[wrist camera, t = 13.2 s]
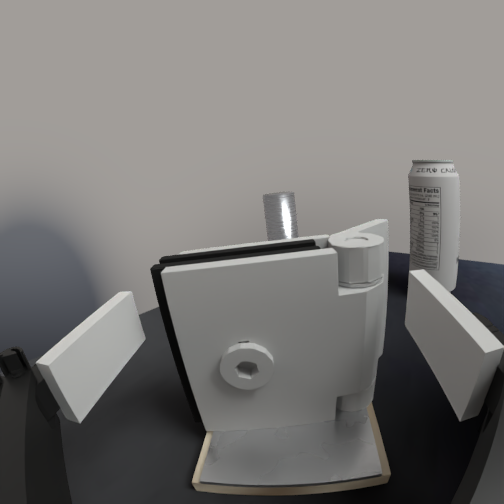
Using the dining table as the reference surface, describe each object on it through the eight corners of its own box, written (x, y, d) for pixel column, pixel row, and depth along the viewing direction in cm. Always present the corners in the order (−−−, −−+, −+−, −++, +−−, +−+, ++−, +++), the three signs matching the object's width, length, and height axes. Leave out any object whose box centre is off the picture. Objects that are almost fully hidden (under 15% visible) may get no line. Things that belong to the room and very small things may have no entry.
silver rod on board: (339, 321, 26) (333, 187, 23) (381, 476, 10) (427, 230, 7) (242, 328, 27) (223, 198, 24) (200, 483, 12) (116, 259, 8)
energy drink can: (463, 295, 27) (468, 160, 24) (424, 306, 28) (426, 160, 24) (437, 278, 33) (437, 160, 29) (399, 286, 33) (397, 160, 29)
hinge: (377, 349, 21) (382, 217, 18) (418, 388, 15) (440, 233, 13) (193, 397, 18) (155, 254, 16) (198, 456, 13) (141, 290, 10)
